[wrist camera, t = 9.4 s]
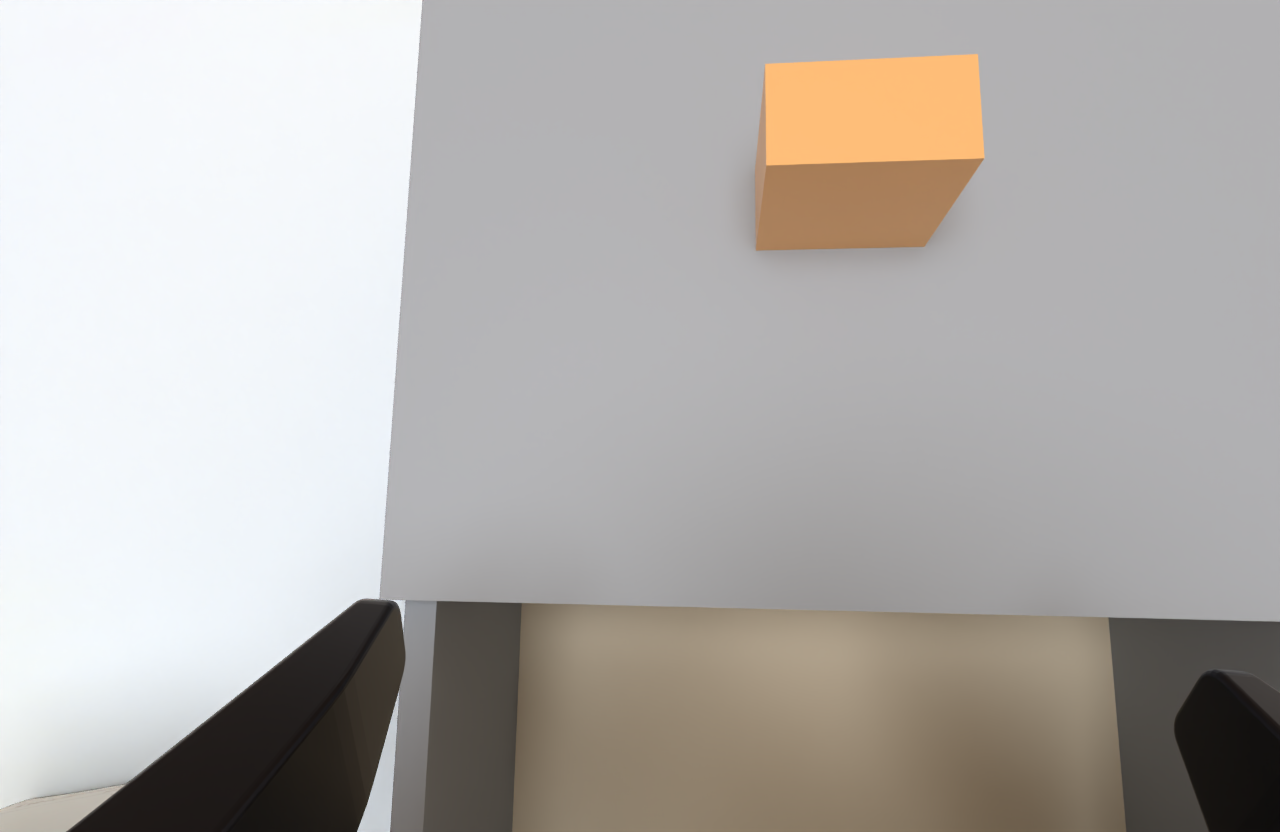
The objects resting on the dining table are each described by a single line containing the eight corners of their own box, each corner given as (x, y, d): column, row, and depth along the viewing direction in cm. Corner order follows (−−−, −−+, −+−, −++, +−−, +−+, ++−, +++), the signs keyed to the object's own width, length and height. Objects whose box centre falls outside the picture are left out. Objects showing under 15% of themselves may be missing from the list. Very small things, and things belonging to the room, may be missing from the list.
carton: (1151, 954, 18) (1410, 1196, 11) (491, 910, 20) (372, 1099, 13) (1107, 450, 20) (1305, 399, 13) (512, 448, 22) (419, 401, 15)
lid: (1353, 620, 13) (1616, 649, 9) (393, 597, 14) (279, 614, 11) (1262, -46, 15) (1445, -247, 11) (434, 1, 16) (351, -160, 13)
